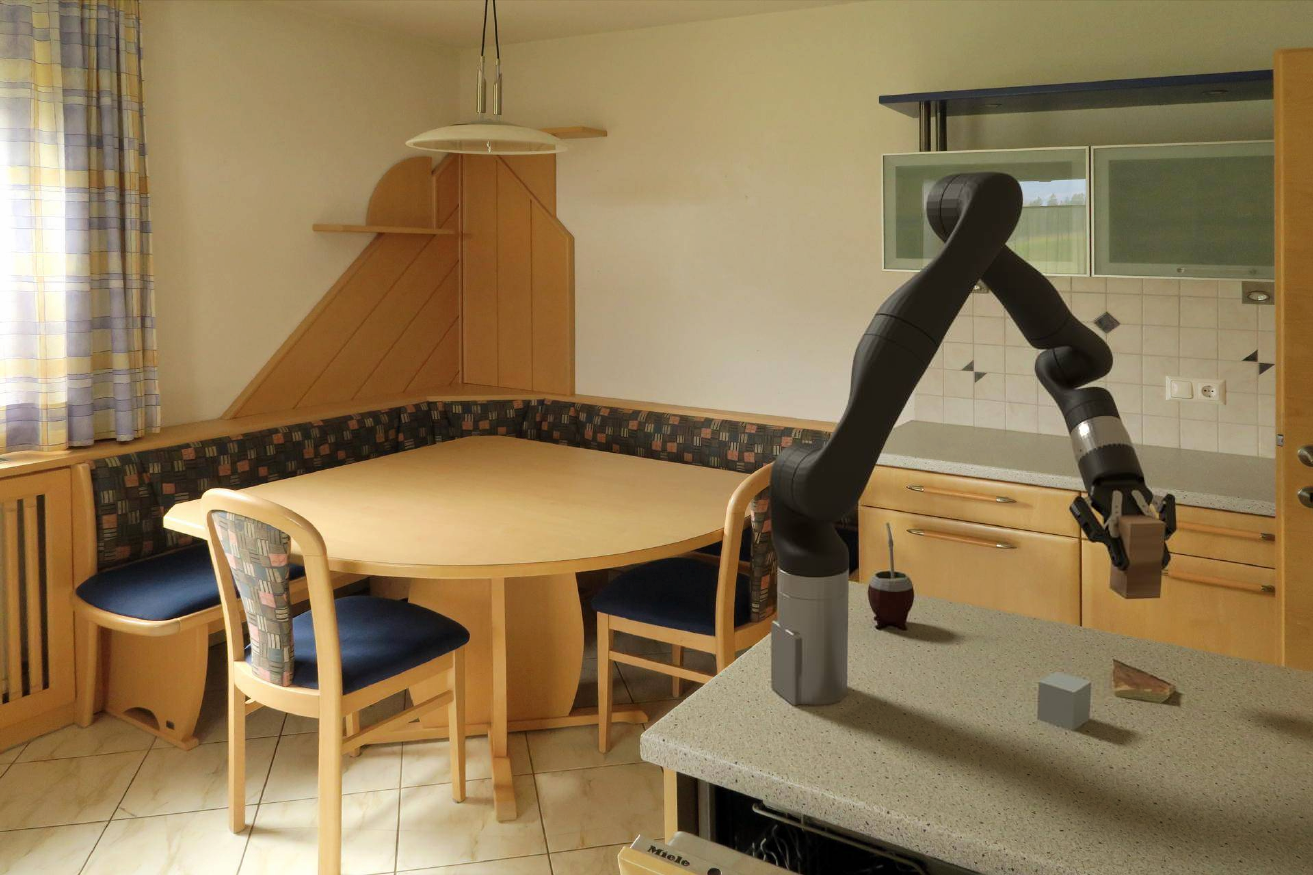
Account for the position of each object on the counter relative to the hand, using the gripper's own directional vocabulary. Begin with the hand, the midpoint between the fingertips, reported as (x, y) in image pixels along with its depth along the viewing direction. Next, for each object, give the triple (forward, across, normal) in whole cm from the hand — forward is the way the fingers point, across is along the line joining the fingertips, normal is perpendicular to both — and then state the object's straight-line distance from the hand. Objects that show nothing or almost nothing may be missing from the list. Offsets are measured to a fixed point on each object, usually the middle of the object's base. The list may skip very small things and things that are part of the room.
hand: (1144, 566), depth 132 cm
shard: (+11, 0, +14) cm, 18 cm away
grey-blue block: (+17, -13, +7) cm, 23 cm away
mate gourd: (-7, -25, +32) cm, 41 cm away
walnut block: (+2, 0, +4) cm, 5 cm away
